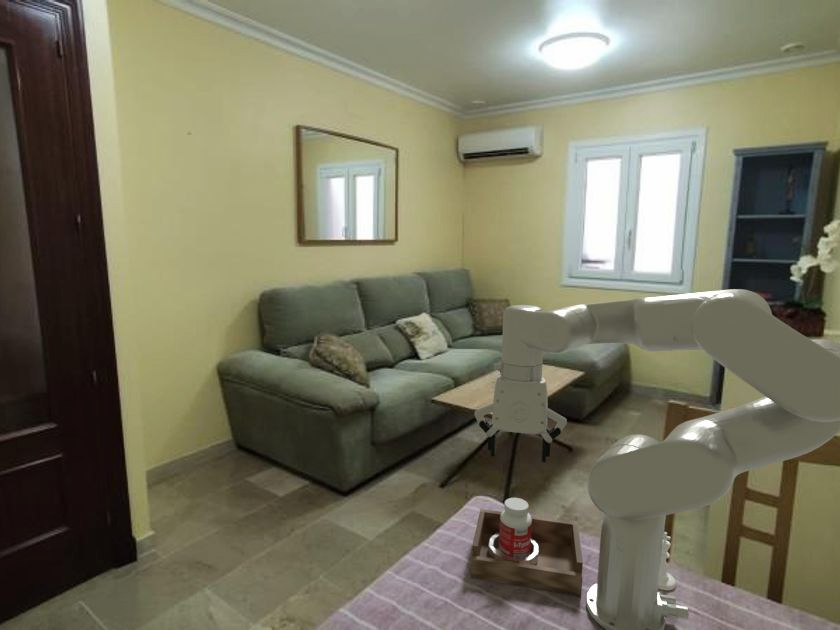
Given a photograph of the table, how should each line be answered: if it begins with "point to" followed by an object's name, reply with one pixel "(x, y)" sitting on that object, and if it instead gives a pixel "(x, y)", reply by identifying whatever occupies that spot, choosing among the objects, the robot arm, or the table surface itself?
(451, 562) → the table surface
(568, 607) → the table surface
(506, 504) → the pill bottle
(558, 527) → the walled box
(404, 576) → the table surface
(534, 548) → the collar
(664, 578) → the chess piece
